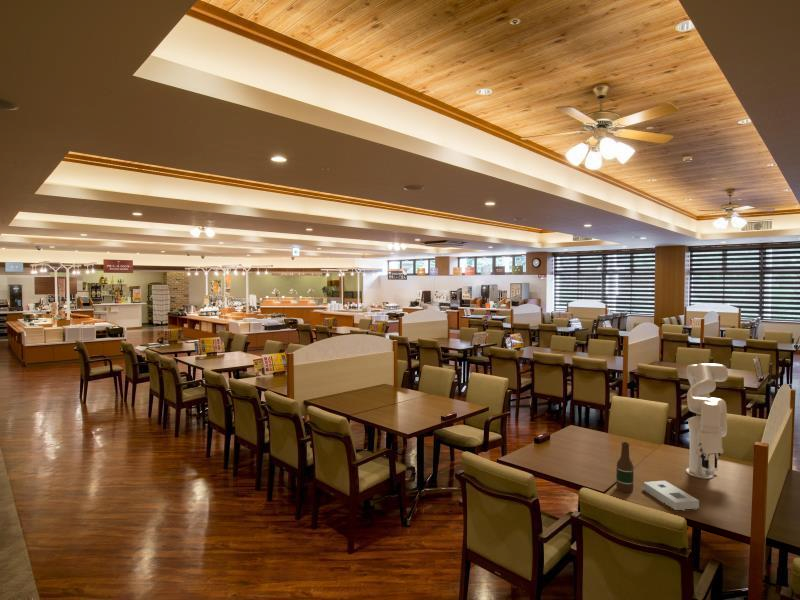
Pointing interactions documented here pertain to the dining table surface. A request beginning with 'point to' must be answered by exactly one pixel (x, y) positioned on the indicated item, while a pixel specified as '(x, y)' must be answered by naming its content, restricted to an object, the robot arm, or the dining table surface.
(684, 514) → the dining table surface
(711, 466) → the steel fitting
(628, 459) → the beer bottle
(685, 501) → the manifold block
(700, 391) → the robot arm
